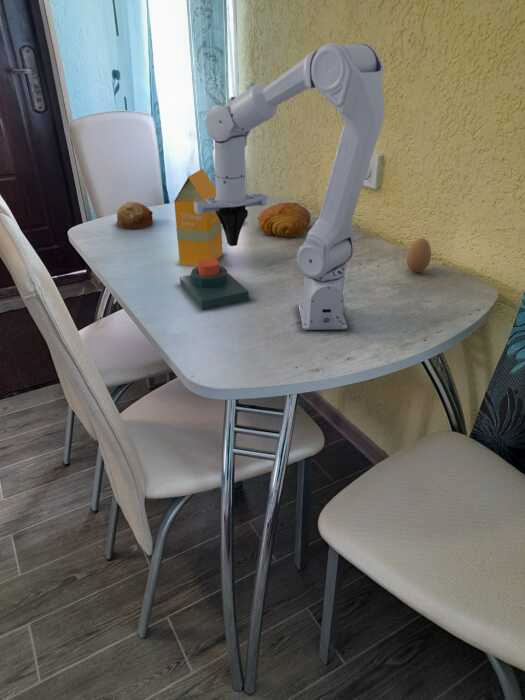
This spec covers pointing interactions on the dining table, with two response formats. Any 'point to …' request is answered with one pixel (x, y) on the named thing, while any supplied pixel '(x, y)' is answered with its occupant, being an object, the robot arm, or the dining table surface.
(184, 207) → the orange juice
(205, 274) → the push button
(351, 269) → the dining table surface
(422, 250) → the egg
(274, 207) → the golden brown pastry bun
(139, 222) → the bread roll
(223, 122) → the robot arm
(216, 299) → the green button base
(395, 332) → the dining table surface
